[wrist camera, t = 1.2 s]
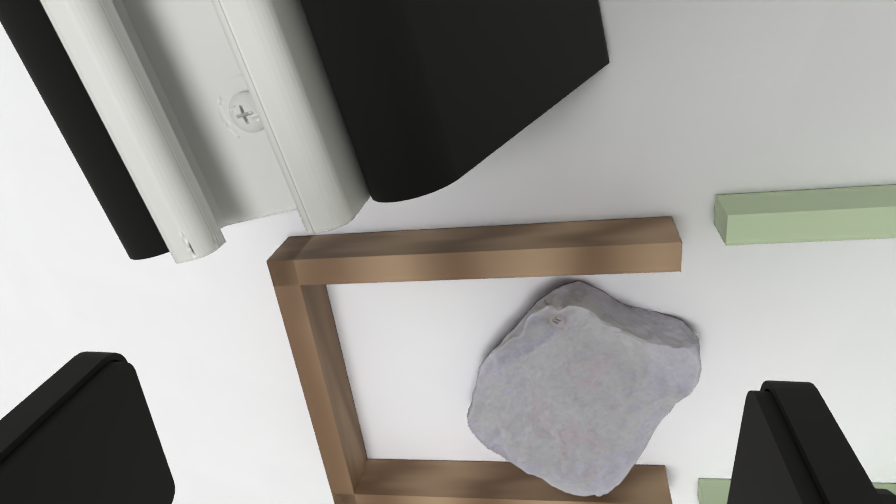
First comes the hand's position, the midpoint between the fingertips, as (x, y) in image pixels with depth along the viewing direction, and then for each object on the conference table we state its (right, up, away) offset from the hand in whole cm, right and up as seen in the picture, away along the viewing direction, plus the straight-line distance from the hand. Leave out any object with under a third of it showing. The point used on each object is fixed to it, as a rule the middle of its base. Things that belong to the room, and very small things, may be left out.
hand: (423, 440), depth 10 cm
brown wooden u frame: (+3, -4, +27) cm, 28 cm away
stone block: (+7, -4, +27) cm, 28 cm away
